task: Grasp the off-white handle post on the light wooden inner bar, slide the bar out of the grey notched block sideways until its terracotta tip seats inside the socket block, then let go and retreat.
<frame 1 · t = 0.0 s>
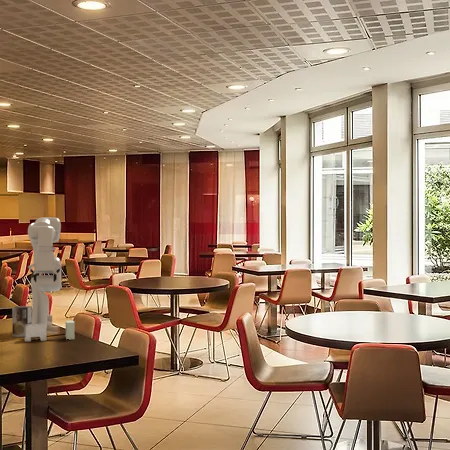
hand: (45, 281, 352), 31 cm above the table, fingers open, 9 cm apart
socket block: (69, 338, 359), on the table
inner bar: (43, 324, 355), point 8 cm above the table, slide at 0.0 cm
coffee box: (22, 336, 367), on the table
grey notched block: (35, 339, 354), on the table
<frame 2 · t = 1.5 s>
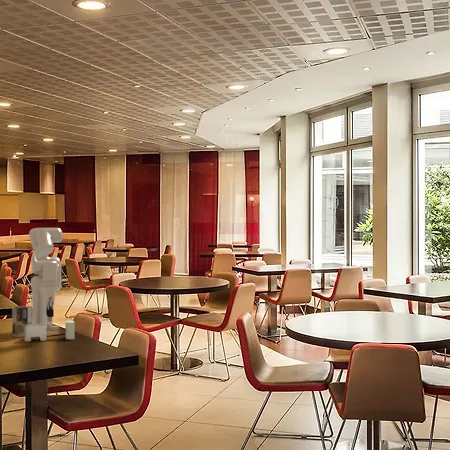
hand: (49, 316, 356), 12 cm above the table, fingers open, 9 cm apart
nothing on the table moved.
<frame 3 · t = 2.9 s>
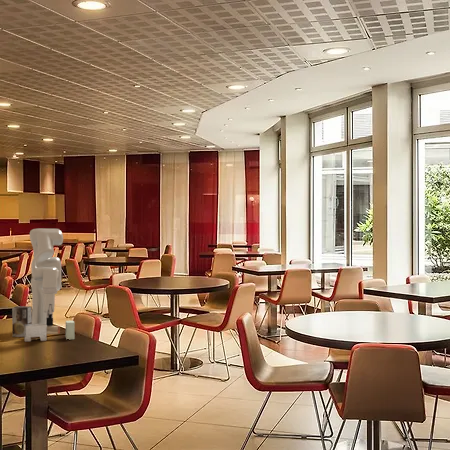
hand: (49, 324, 356), 8 cm above the table, fingers closed on inner bar, 2 cm apart
inner bar: (43, 324, 355), point 8 cm above the table, slide at 0.0 cm, touching gripper
everything else where it was.
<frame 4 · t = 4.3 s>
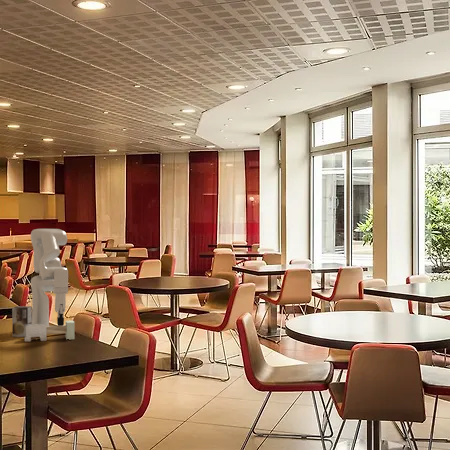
hand: (60, 324, 358), 8 cm above the table, fingers closed on inner bar, 2 cm apart
inner bar: (54, 324, 357), point 8 cm above the table, slide at 5.7 cm, touching gripper
everything else where it was.
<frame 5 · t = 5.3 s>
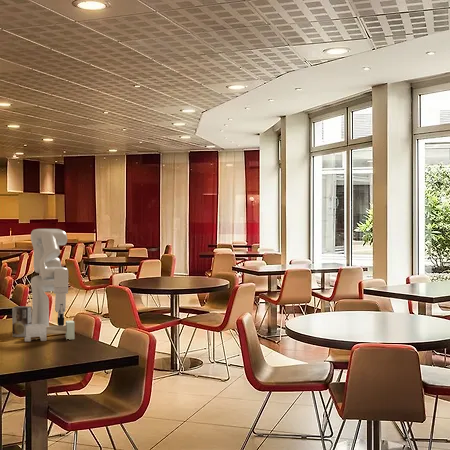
hand: (60, 324, 358), 8 cm above the table, fingers closed on inner bar, 2 cm apart
inner bar: (54, 324, 357), point 8 cm above the table, slide at 5.8 cm, touching gripper
everything else where it was.
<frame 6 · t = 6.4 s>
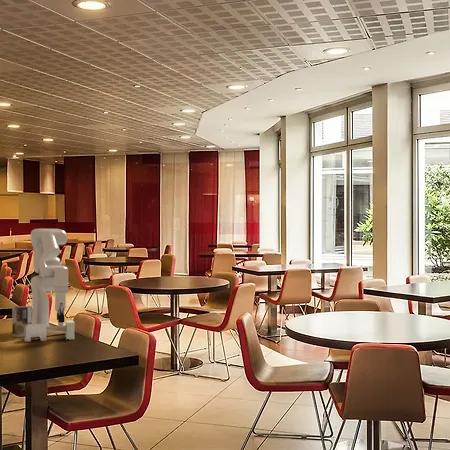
hand: (60, 321, 358), 9 cm above the table, fingers open, 9 cm apart
inner bar: (54, 324, 357), point 8 cm above the table, slide at 5.8 cm
everything else where it was.
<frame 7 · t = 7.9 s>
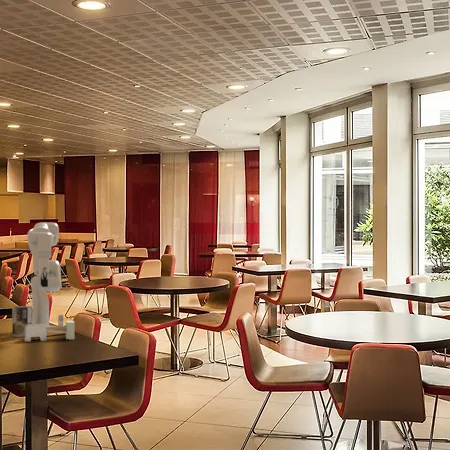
hand: (44, 285, 366), 28 cm above the table, fingers open, 9 cm apart
nothing on the table moved.
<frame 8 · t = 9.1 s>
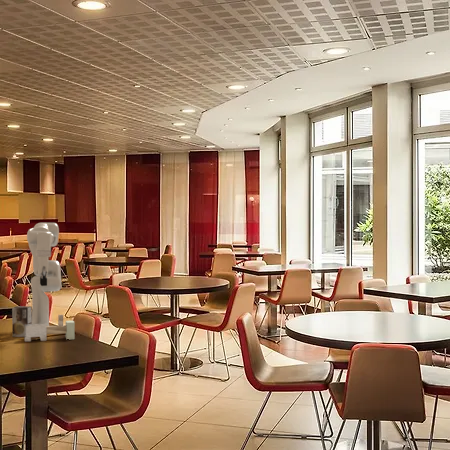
hand: (43, 285, 366), 28 cm above the table, fingers open, 9 cm apart
nothing on the table moved.
at the end: inner bar slide at 5.8 cm; the gripper is holding nothing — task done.
